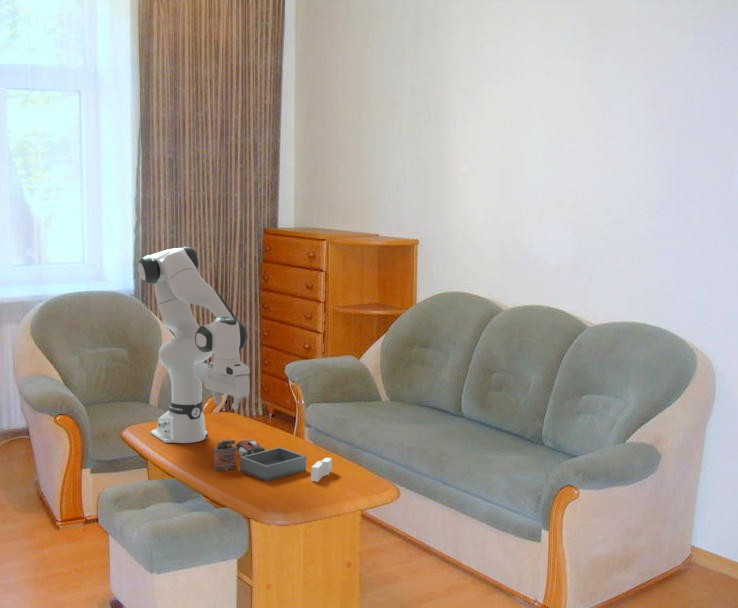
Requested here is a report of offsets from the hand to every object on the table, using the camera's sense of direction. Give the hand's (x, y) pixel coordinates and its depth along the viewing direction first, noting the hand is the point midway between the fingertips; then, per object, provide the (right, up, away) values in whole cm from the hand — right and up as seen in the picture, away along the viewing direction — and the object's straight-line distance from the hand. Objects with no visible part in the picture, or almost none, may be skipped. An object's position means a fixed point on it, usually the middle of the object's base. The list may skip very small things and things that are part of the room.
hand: (226, 406), depth 300 cm
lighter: (-1, -22, +3) cm, 22 cm away
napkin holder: (+33, -24, -1) cm, 41 cm away
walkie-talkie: (+6, -20, +20) cm, 29 cm away
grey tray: (+15, -22, +3) cm, 27 cm away
